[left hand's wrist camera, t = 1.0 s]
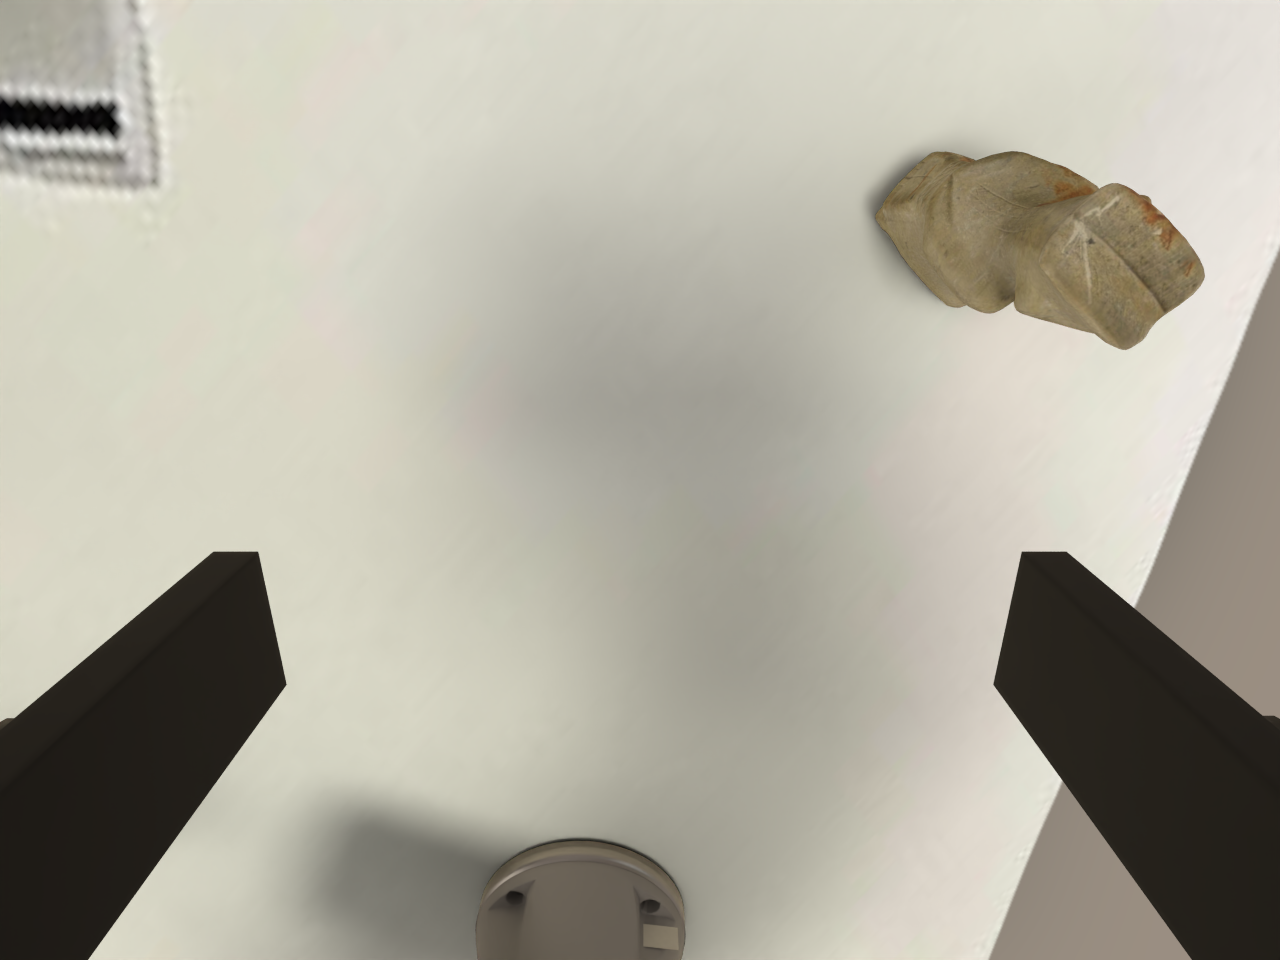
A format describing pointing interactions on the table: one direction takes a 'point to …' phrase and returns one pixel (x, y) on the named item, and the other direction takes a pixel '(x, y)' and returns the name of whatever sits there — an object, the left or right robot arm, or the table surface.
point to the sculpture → (1040, 244)
